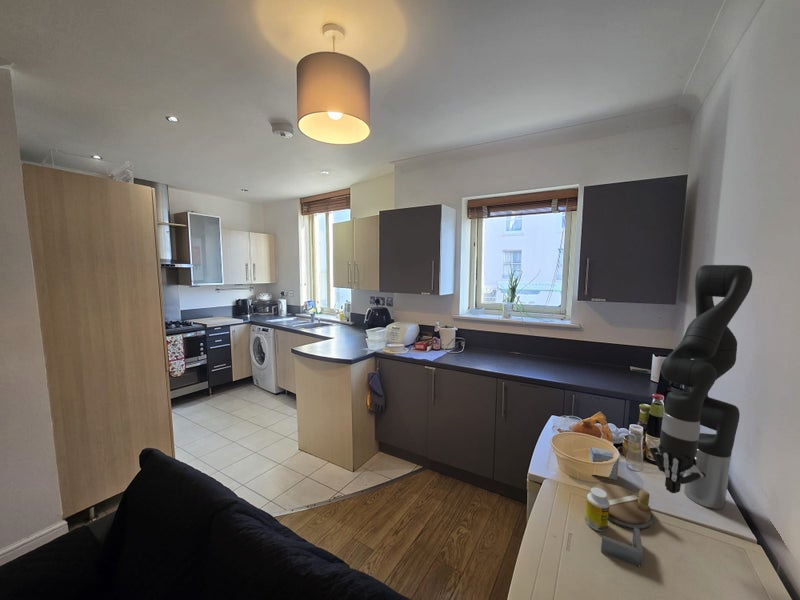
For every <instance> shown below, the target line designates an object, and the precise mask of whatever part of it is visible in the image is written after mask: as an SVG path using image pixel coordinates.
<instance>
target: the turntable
mask: <svg viewBox="0 0 800 600" xmlns="http://www.w3.org/2000/svg"><path fill="white" fill-rule="evenodd" d="M592 488H599V489H602V490H603V491H605V492H606V494H607V499H608V501H609V503H610V506H609V516H611V517H613V518H615V519H617V520H619V521H622V522H625V523H629V524H634V525H642V524H646V523H648V522H649V521H650V519H651V513H652V509H651V507H650V506H649V502H650V493H649V492H648V491H646V490H642V489H640V490H639V491H638V494H636V493H635V492H633V491H632V490H629V489H627V488H625V487H623V486H619V485H615V484H611V483H599V484H596V485H595V486H593V487H592Z"/></svg>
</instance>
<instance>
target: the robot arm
mask: <svg viewBox="0 0 800 600" xmlns="http://www.w3.org/2000/svg"><path fill="white" fill-rule="evenodd" d="M752 284H753V271H752V269H751V268H750V267H749V266H748V265H742V264H741V265H740V264H704V265H701V266H699V267H698V269H697V271H696V274H695V280H694V288H695V289H694V293H695V294H694V295H695V296H694V297H695V318H694V319H693V320H692V321H690V323H689V324H688V326H687V328H686V330H685V333H684V335H683V338H682V339H681V341H680V343H679V344H678V345H677V346H676V347H675V349H673V350H672V352H670V353H669V354H668V355H667V357H665V359H664V360H663V362H662V363H661V364H660V365H661V366H660V373H661V376H662V377H663V379H665V380H666V382H667V381H668V382H670V383H673V384H678V385H682V386H686V387H690V391H679V390H673V391H669V392H668V393H667V395H666V398H665V406H664V413H663V416H662V420H661V429H660V434H659V435H660V437H659V442H660V443H659V444H658V446H653V447H649V452H650V454H651V456H652V458H653V460H654V462H655V464H656V466H657V468H658V470H659V471H661V472H663V474H664V476H665V479H664V480H665V481H664V486H665V488H666V489H665V490H666V491H668V492H669V493H671V494H677V493H680V492H681V486H682V485H684V489H683V491H684V494H685V495H686V496H687V497H688V498H689V499H690V500H691V501H693V502H695V503H696V504H698V505H701V506H703V507H705V508H708V509H713V510H719V509H720V510H721V509H723V508H724V506H725V503H726V498H727V490H728V485H729V479H730V475H729V472H730V466H731V458H732V454H733V448H734V445H735V444H734V443H735V439H736V435H737V430H738V426H739V422H740V409H739V408H738V406H736V405H735V404H731V403H729V402H726V401H723V400H719V399H716V398H713V397H709V392H710V390H711V389H712V387H713V386H714V385H715V383H716V381H717V380H718V379H719V378H721V377H722V376H723V375H725V374H726V373H727V372H730V370H731V369H732V368H733V367H734V366H735V364H736V362H737V353H738V340H737V338H736V336H735V334H734V333H733V332H732V330H731V329H730V328H729V327H728V326H729V324H730V321H732V319H733V318H734V316H735V314H736V313H737V312H738V311H739V309H740V307H741V305H742V304H743V302H744V301H745V299H746V298H747V296H748V295H749V292H750V291H751V287H752ZM714 297H715V298H723V299H722V300H721V301H720V302H718V303H717V304H715V303H714ZM701 426H703V427H705V428H708V429H711V430H712V431H713V430H714V431H716V433H706V432H704V433H703V432H701ZM685 474H686V475H685Z"/></svg>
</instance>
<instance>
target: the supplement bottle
mask: <svg viewBox="0 0 800 600" xmlns="http://www.w3.org/2000/svg"><path fill="white" fill-rule="evenodd" d="M590 492H591V493H590ZM590 492H589V493H587V496H586V505H585V512H584V520H585V523H586V524H587V525H588V527H590V528H591V529H593V530H595V531H598V532H605V531H607V528H608V522H609V521H608V516H609V506H610V503H609V501H608V499H607V494H606V492H605V491H603V490H602V489H599V488H593V487H591V489H590Z"/></svg>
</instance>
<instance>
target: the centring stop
mask: <svg viewBox="0 0 800 600" xmlns="http://www.w3.org/2000/svg"><path fill="white" fill-rule="evenodd" d="M632 532H633V533H632V538H631V539H632V545H629V544H627V543H623V542H621V541H618V540H616V539H614V538H611V537H609V536H605V535H601V543H600V544H601V545H600V552H601V553H602V554H605V555H607V556H610V557H611V558H612V557H613V558H615V559H616V560H620V561H622V562H624V563H627V564H629V565H632V566H635V567H637V568H640V567H641V568H642V565H643V557H644V549H643V543H642V538H641V537H642V536H641V530H639V529H637V528H634V530H632Z"/></svg>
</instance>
